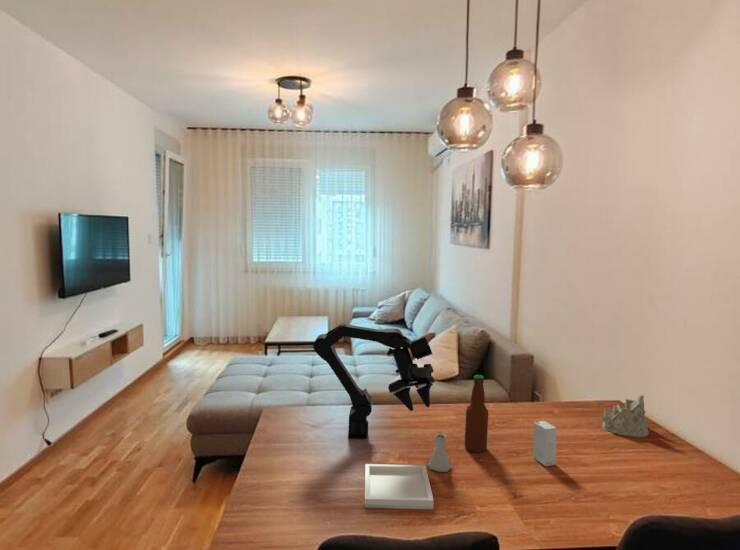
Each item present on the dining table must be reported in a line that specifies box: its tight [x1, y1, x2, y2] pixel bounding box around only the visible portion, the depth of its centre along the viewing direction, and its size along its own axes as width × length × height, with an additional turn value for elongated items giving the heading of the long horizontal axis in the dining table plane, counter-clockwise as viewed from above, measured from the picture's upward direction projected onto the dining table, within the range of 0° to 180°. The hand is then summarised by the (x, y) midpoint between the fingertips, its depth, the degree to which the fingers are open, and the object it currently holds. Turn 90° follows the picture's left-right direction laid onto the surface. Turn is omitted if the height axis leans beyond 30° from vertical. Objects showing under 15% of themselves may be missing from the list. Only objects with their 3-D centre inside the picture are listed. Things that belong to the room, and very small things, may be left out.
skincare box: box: [532, 420, 558, 467], centre depth 149 cm, size 6×4×12 cm
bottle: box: [464, 374, 489, 453], centre depth 156 cm, size 7×7×25 cm
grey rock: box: [601, 394, 650, 438], centre depth 176 cm, size 16×16×15 cm
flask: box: [427, 433, 452, 473], centre depth 144 cm, size 7×7×10 cm
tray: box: [364, 463, 434, 510], centre depth 131 cm, size 18×18×2 cm
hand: (420, 408), depth 155 cm, fingers open, 9 cm apart
